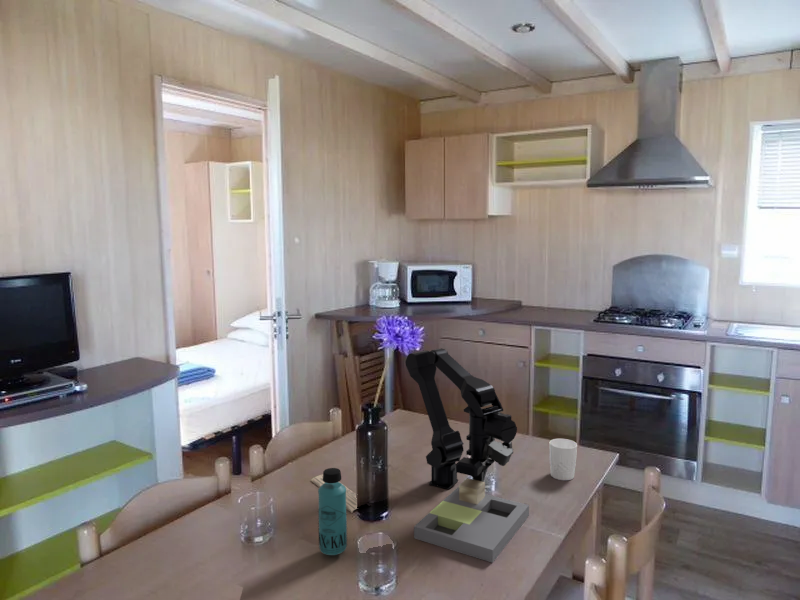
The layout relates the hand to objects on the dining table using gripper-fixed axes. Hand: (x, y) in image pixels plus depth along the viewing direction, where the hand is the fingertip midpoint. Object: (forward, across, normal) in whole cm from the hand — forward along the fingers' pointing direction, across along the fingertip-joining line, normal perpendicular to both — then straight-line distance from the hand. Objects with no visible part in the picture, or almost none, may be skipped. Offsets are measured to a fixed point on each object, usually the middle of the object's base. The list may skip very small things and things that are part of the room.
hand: (479, 487), depth 158 cm
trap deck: (+4, -13, -4) cm, 14 cm away
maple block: (+1, -5, 0) cm, 5 cm away
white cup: (+4, +27, -15) cm, 31 cm away
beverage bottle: (+4, -40, +19) cm, 44 cm away
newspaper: (+5, -14, +36) cm, 38 cm away
